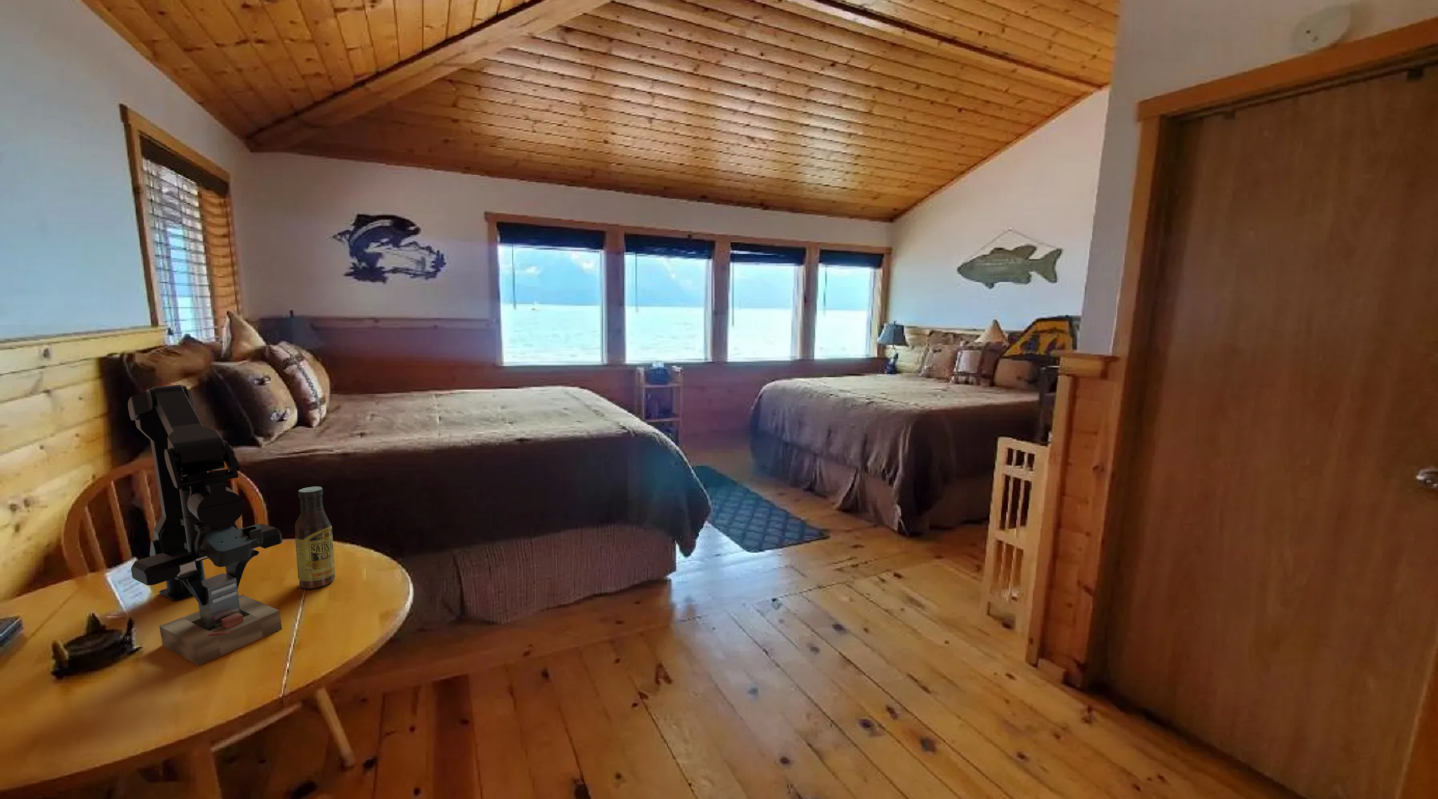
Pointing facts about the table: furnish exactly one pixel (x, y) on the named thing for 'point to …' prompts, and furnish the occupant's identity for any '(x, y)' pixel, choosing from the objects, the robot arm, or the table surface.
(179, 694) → the table surface
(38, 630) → the table surface
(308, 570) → the sauce bottle
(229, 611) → the column
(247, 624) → the stand base
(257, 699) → the table surface
